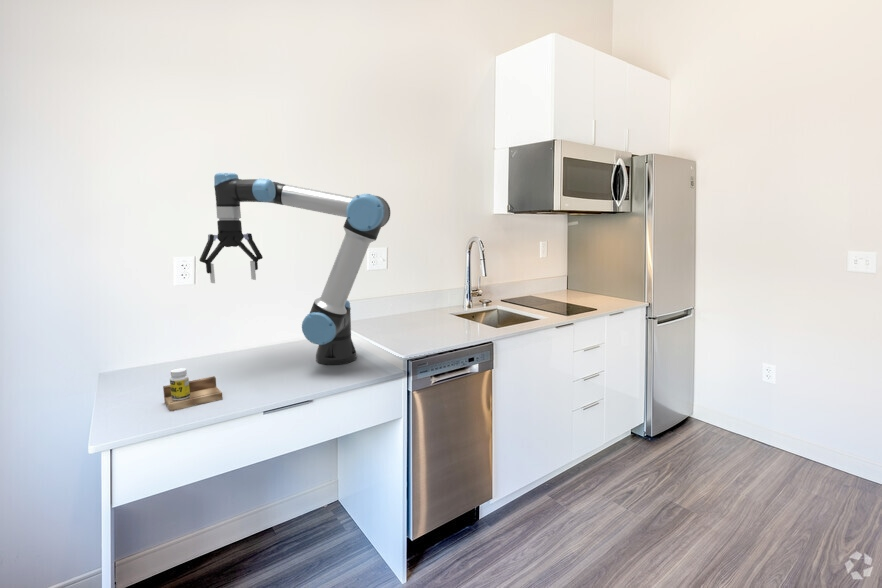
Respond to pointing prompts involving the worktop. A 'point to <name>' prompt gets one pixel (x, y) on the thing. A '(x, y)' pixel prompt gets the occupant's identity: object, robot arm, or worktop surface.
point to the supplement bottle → (179, 384)
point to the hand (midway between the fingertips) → (233, 281)
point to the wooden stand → (194, 394)
